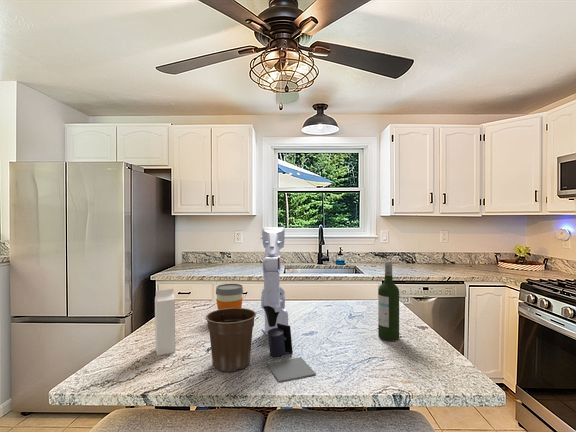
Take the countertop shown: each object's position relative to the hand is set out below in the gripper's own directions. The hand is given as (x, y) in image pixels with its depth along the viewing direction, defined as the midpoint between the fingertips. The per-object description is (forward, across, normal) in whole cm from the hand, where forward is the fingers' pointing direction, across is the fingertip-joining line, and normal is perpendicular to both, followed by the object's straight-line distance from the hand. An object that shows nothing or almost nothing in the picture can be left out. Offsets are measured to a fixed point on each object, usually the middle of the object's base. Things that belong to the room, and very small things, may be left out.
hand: (272, 326), depth 120 cm
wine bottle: (+8, -9, -45) cm, 47 cm away
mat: (+7, -19, 0) cm, 20 cm away
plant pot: (+8, -8, +17) cm, 20 cm away
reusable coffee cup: (+8, +37, +9) cm, 39 cm away
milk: (+8, +10, +37) cm, 39 cm away
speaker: (+8, -8, 0) cm, 11 cm away
